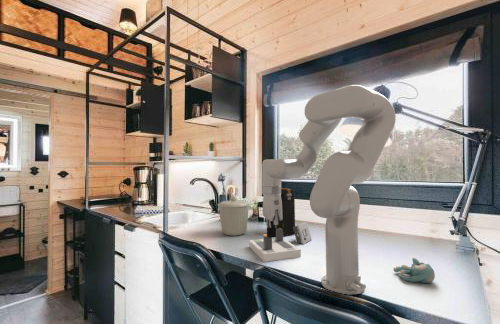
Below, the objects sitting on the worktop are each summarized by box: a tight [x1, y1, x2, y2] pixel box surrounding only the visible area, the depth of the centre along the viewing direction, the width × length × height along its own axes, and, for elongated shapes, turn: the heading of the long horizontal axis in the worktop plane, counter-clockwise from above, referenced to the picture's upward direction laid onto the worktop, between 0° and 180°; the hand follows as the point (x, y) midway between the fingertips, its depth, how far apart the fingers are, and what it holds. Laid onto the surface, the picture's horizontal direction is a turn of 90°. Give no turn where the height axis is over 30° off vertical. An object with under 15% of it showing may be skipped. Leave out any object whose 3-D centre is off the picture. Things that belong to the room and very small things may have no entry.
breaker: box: [274, 228, 284, 241], centre depth 119 cm, size 2×3×5 cm, turn 107°
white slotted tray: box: [248, 237, 302, 263], centre depth 114 cm, size 20×16×3 cm
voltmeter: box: [276, 187, 296, 237], centre depth 145 cm, size 16×9×25 cm, turn 25°
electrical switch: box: [293, 221, 312, 245], centre depth 128 cm, size 9×5×9 cm, turn 141°
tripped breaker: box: [262, 233, 272, 249], centre depth 107 cm, size 2×3×6 cm, turn 107°
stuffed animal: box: [392, 257, 436, 284], centre depth 85 cm, size 11×7×12 cm
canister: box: [217, 195, 251, 237], centre depth 145 cm, size 18×18×21 cm
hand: (271, 236), depth 102 cm, fingers closed
